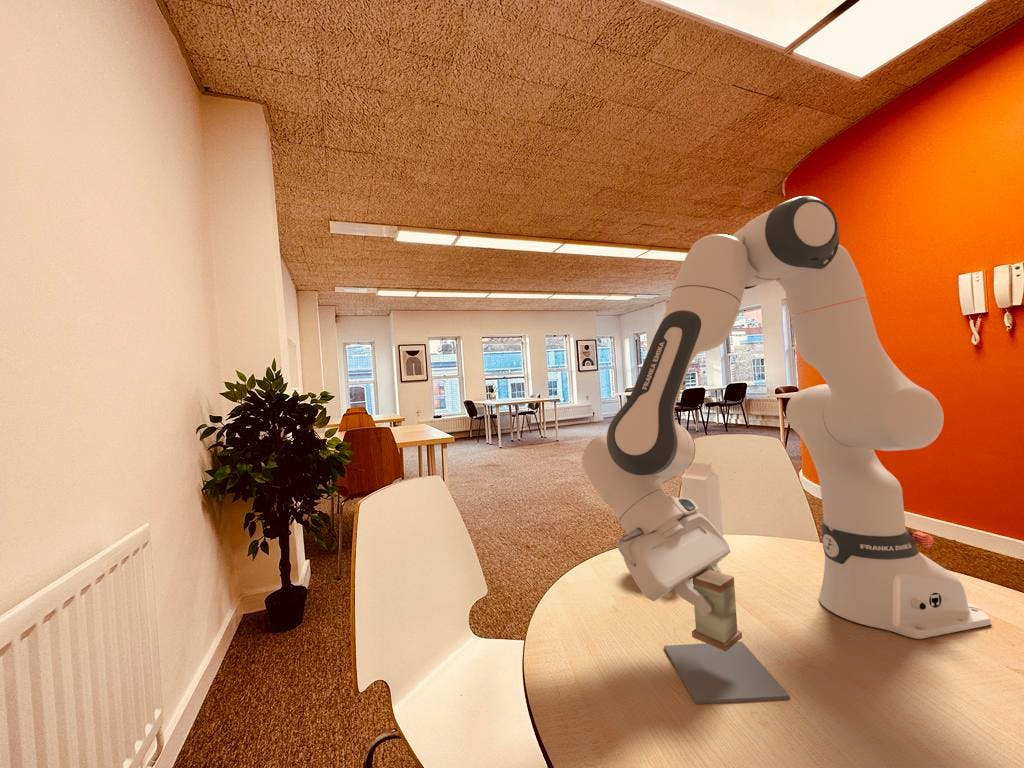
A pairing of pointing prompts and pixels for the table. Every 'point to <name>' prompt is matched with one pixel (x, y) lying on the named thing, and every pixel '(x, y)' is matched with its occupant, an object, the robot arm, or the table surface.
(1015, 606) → the table surface
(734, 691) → the mat
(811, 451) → the robot arm
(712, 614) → the banded square pillar
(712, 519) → the milk
